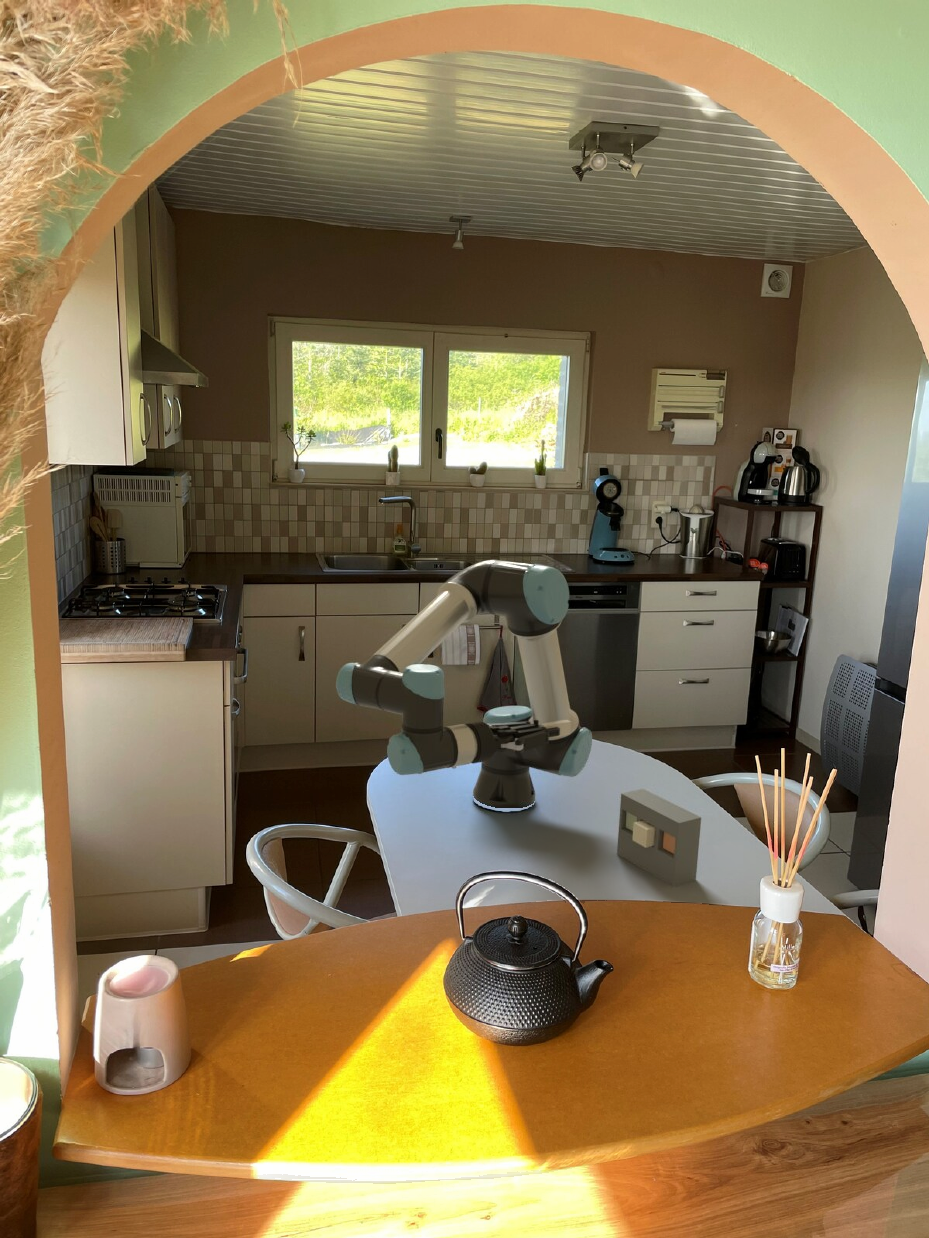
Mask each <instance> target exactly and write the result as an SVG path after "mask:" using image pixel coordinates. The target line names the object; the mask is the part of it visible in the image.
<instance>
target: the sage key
mask: <svg viewBox="0 0 929 1238" xmlns="http://www.w3.org/2000/svg"><path fill="white" fill-rule="evenodd" d="M634 822H637V817H636V816H634V815H632V814H630V813H628V812H627V814H626V828H628V829H630V830H632V831H633V824H634Z"/></svg>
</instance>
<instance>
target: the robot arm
mask: <svg viewBox="0 0 929 1238" xmlns="http://www.w3.org/2000/svg"><path fill="white" fill-rule="evenodd" d="M436 595H437V596H436V597H434V598H433V599H432V600H431V601H430V602H429V603H428V604H427V605H426V606H425V607H424V608H423V609H421V610H420V611H419V612H418V613H417V614H416V615H415V616H414V617H413V618H412V619H410V620H409V622H407V623H406V624H405V625H404V626H403V627H402V628H401V629H400V630H398V632H396V633H395V634H394V635H393V636H391V638H390V639H389V640H388V641H386V643H384V644H383V645H382V646H381V647H380V648H379V649H377V651H375V653H374V654H372V655H371V657H370V658H368V659H367V660H366V661H365V662H364V663H360V662H348V663H346V664H344V665H343V666H342V667H340V669H339V671H338V674H337V676H336V681H335V688H336V692H337V695H338V697H339V698H340V699H341V700H342V701H345V702H348V703H349V704H354V705H356V706H361V707H365V708H371V709H375V710H380V711H385V712H389V713H393V714H396V715H401V732H398V733H396V734H393V735H392V736H391V737H390V738H389V740H388V744H387V745H386V746H387V747H386V748H387V749H386V751H387V752H386V754H387V760H388V762H389V765H390V767H391V769H392V770H393V771H394V773H396V774H397V775H399V776H408V775H409V776H410V775H421V774H423V773H428V772H429V773H430V772H433V771H434V772H435V771H438V770H443V769H450V768H452V769H454V770H455V769H456V768H457V767H460V766H466V765H470V764H478V763H481V768H480V771H479V774H478V776H477V780H476V782H475V786H474V788H473V792H472V797H473V796H474V798H475V799H476V800H477V801H479V802H480V803H482V804H485V805H487V806H491V807H495V808H523V807H527V806H529V805H531V804H533V803H534V801H535V802H536V791H535V787H534V783H533V780H532V776H531V772H530V768H531V769H535V770H539V771H542V772H547V773H550V774H553V775H557V776H564V777H571V778H573V777H577V776H578V775H579V774H580V773H582V771H583V770H584V768H585V767H586V764H587V762H588V760H589V757H590V754H591V750H592V745H593V735H592V731H591V730H590V729H588V728H587V727H581V726H580V720H579V717H578V714H577V713H576V711H574V710H573V709H571V706H570V701H569V700H570V699H569V695H568V689H567V684H566V683H567V682H566V677H565V672H564V667H563V659H562V655H561V649H560V648H561V647H560V643H559V642H560V641H559V637H558V630H557V629H558V628H559V627H560V625H561V623H562V621H563V620H564V618H565V617H566V615H567V612H568V611H569V605H570V604H569V600H570V589H569V585H568V582H567V580H566V578H565V576H564V574H563V573H562V572H561V571H560V570H559V569H557V568H555V567H552V566H548V565H544V564H541V563H534V564H532V563H531V564H530V563H524V562H515V561H509V560H508V561H507V560H501V559H500V560H499V559H488V560H483V561H479V562H477V563H474V564H471V565H470V566H468V567H465V568H464V569H461V570H460V571H459V572H457V573H456V574H453V575H452V576H451V577H449V578H448V579H447V580H446V581H444V583H442V585H440V587H439V588H438V590H437V594H436ZM484 614H485V615H487V614H488V615H494V616H495V615H496V616H500V617H504V618H505V621H506V625H507V626H506V627H507V630H508V632H510V633H511V634H512V635H513V636H515V637H516V639H517V644H518V649H519V653H520V658H521V664H522V669H523V675H524V678H525V684H526V689H527V694H528V698H529V699H528V700H529V703H530V704H529V705H530V707H528V706H523V705H504V706H498V707H495V708H492V709H489V710H488V711H486V712H485V713H484V716H483V721H477V722H475V721H474V722H470V723H469V722H468V723H466V724H464V723H461V724H460V723H459V724H454V725H448V726H444V719H445V717H444V715H445V713H444V712H445V710H444V709H445V696H446V689H445V673H444V670H443V669H442V668H440V666H438V665H433V664H424V663H423V664H422V662H423V661H425V659H427V658H428V656H430V655H431V653H432V652H434V651H435V650H436V648H438V647H439V646H440V645H441V644H442V643H443V642H444V641H445V640H446V639H447V638H448V637H449V636H450V635H451V634H452V633H453V632H454V631H455V630H456V629H457V628H458V627H459V626H460V625H461V624H462V623H467V622H470V621H473V619H474V618H476V616H480V615H484Z"/></svg>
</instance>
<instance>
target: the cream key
mask: <svg viewBox="0 0 929 1238" xmlns="http://www.w3.org/2000/svg"><path fill="white" fill-rule="evenodd" d="M655 830H656V827H654V826H652V825H651V824H649V823H647V822H645V821H643V820H642V821H638V822H634V824H633V838H632V840H633V841H635V842H637V843H638V844H640V845H642V846H644V847H645V848H647V847H650V846H654V843H655Z"/></svg>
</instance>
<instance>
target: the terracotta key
mask: <svg viewBox="0 0 929 1238" xmlns="http://www.w3.org/2000/svg"><path fill="white" fill-rule="evenodd" d="M663 848H664V849H666V850H668V851H669V852H671V853H673V854H674V850H675V837H673V836H671V835H669V834H667V833H666V832H664V837H663Z"/></svg>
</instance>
